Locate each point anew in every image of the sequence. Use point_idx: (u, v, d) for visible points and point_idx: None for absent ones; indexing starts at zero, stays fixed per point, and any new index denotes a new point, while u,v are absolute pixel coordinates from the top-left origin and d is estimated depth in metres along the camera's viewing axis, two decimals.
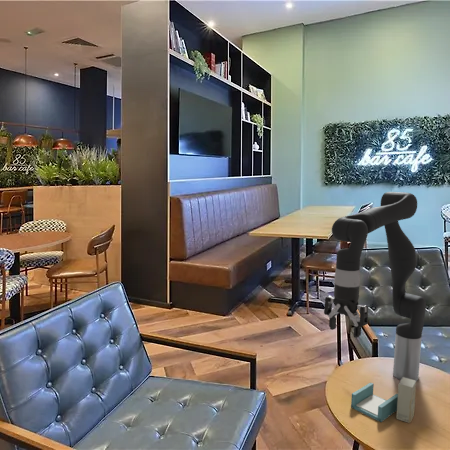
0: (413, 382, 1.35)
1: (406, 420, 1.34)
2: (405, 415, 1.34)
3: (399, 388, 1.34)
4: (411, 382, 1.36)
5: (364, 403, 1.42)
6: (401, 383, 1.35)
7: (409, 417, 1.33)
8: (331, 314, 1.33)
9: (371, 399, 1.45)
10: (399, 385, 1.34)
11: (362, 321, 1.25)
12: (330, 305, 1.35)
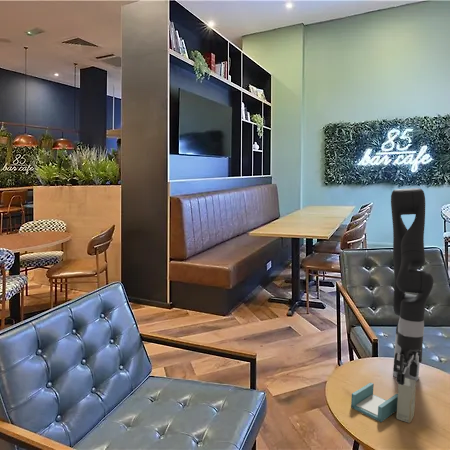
0: (413, 382, 1.35)
1: (406, 420, 1.34)
2: (405, 415, 1.34)
3: (399, 388, 1.34)
4: (411, 382, 1.36)
5: (364, 403, 1.42)
6: None
7: (409, 417, 1.33)
8: (405, 369, 1.31)
9: (371, 399, 1.45)
10: (399, 385, 1.34)
11: (421, 358, 1.38)
12: None
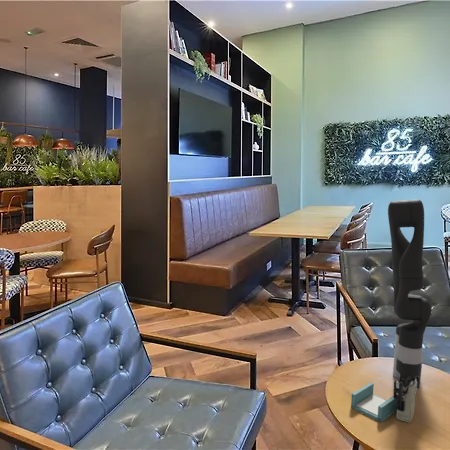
0: None
1: (406, 420, 1.34)
2: (405, 415, 1.34)
3: None
4: None
5: (364, 403, 1.42)
6: None
7: (409, 417, 1.33)
8: (404, 396, 1.32)
9: (371, 399, 1.45)
10: None
11: (419, 384, 1.39)
12: None
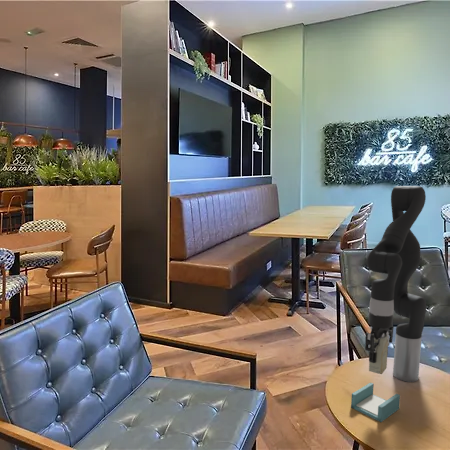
0: None
1: (378, 372, 1.37)
2: (377, 367, 1.37)
3: None
4: None
5: (364, 403, 1.42)
6: None
7: (381, 368, 1.36)
8: (376, 348, 1.36)
9: (371, 399, 1.45)
10: None
11: (392, 338, 1.42)
12: None
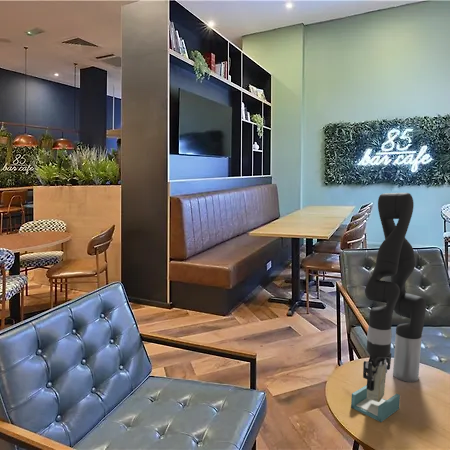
0: None
1: (375, 399, 1.38)
2: (375, 395, 1.38)
3: None
4: None
5: (364, 403, 1.42)
6: None
7: (378, 396, 1.38)
8: (374, 376, 1.37)
9: None
10: None
11: (389, 365, 1.43)
12: None
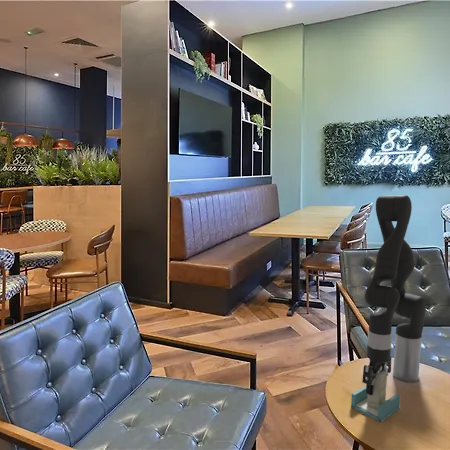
0: (383, 370, 1.40)
1: (376, 407, 1.39)
2: (375, 402, 1.39)
3: None
4: None
5: (364, 403, 1.42)
6: None
7: (378, 404, 1.38)
8: (373, 380, 1.37)
9: None
10: None
11: (390, 368, 1.44)
12: None
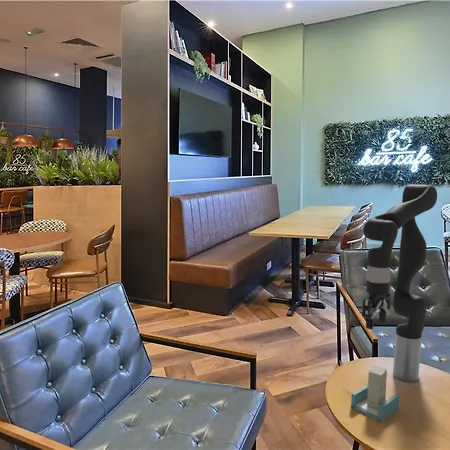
0: (383, 370, 1.40)
1: (376, 407, 1.39)
2: (375, 402, 1.39)
3: (369, 376, 1.39)
4: (381, 370, 1.40)
5: (364, 403, 1.42)
6: (371, 371, 1.40)
7: (378, 404, 1.38)
8: (373, 314, 1.37)
9: None
10: (369, 373, 1.39)
11: (389, 304, 1.44)
12: None
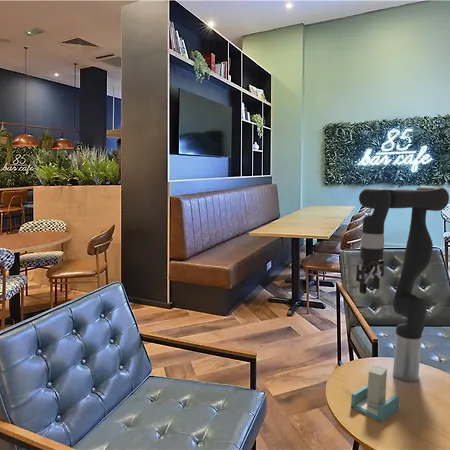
0: (383, 370, 1.40)
1: (376, 407, 1.39)
2: (375, 402, 1.39)
3: (369, 376, 1.39)
4: (381, 370, 1.40)
5: (364, 403, 1.42)
6: (371, 371, 1.40)
7: (378, 404, 1.38)
8: (366, 279, 1.42)
9: None
10: (369, 373, 1.39)
11: (383, 272, 1.49)
12: None
